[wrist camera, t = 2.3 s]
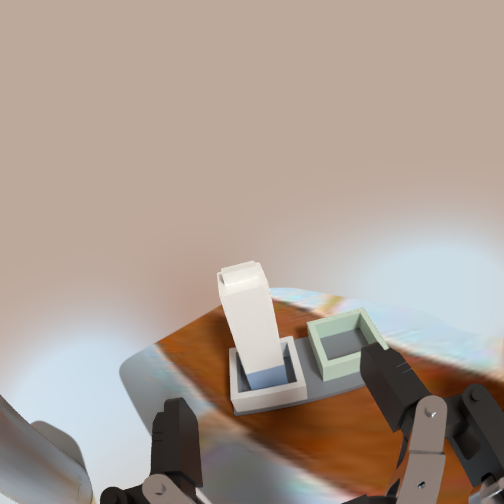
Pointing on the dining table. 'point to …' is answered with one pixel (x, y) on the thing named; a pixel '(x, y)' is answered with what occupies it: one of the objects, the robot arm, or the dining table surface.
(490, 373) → the dining table surface
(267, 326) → the milk carton
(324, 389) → the double bin tray
